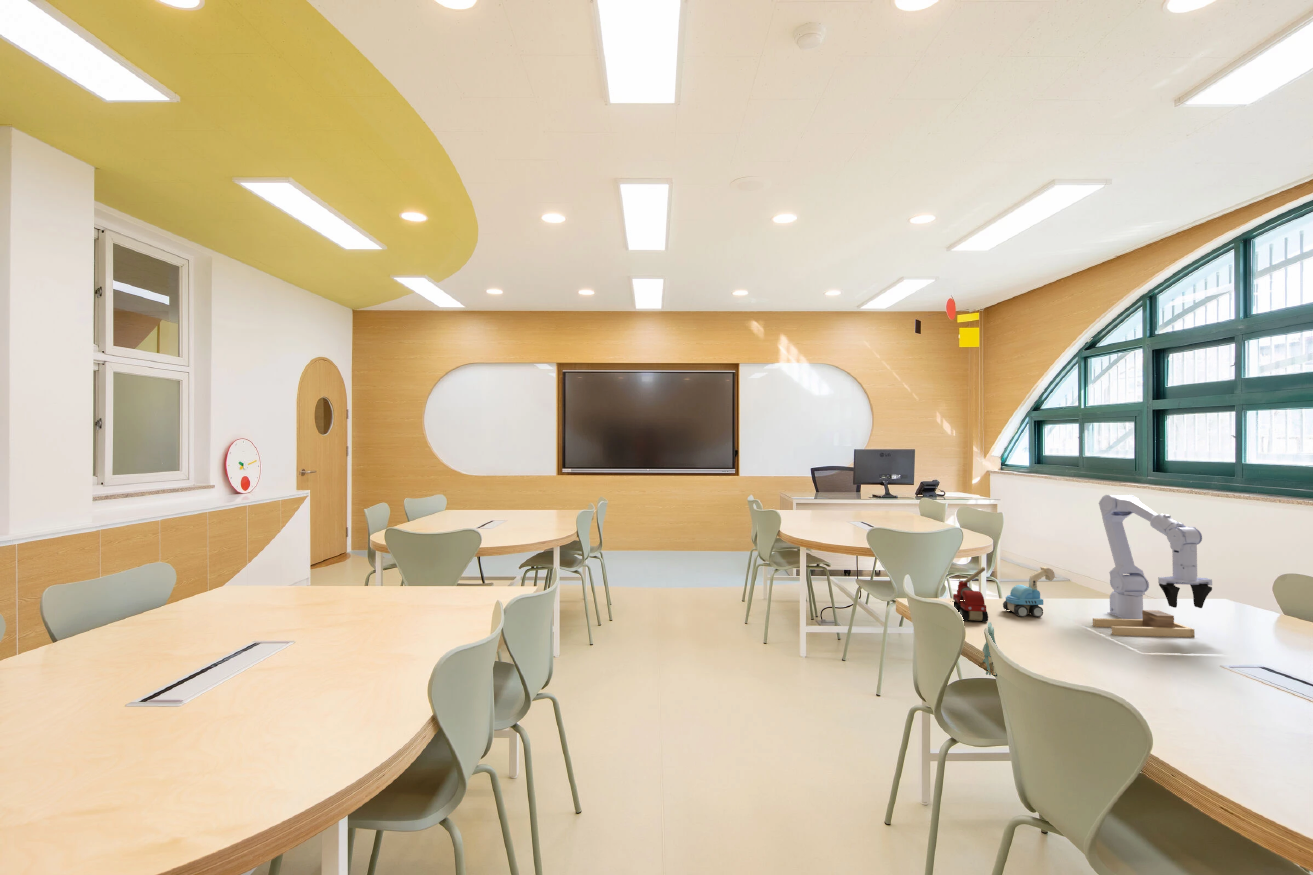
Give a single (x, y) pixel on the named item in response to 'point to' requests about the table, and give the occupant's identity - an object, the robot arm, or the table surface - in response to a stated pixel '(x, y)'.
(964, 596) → the toy fire truck
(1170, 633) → the bay
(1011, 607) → the toy excavator
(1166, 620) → the box
